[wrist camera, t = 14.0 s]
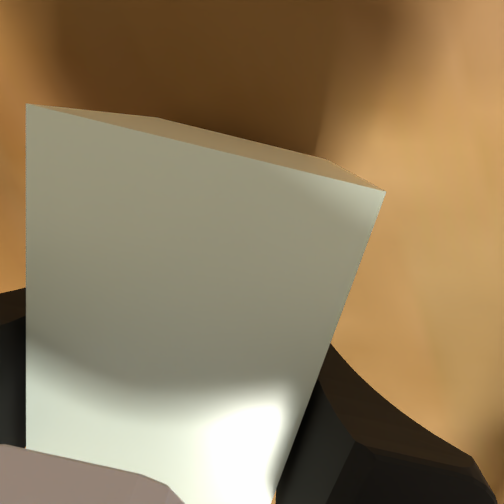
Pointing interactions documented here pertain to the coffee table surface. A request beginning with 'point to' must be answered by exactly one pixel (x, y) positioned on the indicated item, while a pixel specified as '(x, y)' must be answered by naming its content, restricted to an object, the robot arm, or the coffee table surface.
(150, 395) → the pale green block
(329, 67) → the coffee table surface
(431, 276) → the coffee table surface
